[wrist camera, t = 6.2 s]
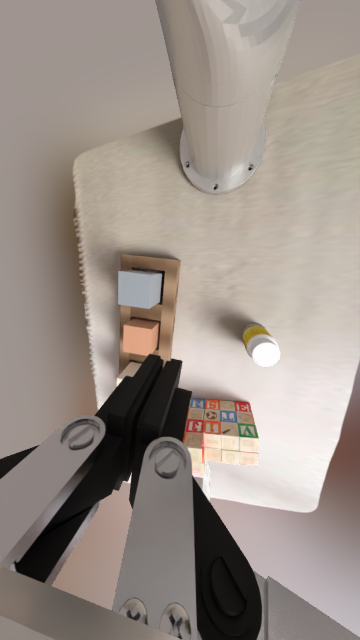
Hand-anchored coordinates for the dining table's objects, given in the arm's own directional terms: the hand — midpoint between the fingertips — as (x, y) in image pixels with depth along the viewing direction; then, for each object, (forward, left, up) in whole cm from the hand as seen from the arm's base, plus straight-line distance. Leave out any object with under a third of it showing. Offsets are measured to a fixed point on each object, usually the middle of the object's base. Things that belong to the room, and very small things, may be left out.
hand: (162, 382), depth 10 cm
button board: (+8, -9, -28) cm, 31 cm away
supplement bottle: (+6, +11, -28) cm, 31 cm away
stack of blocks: (+25, +3, -28) cm, 38 cm away
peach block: (+8, -10, -27) cm, 30 cm away
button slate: (-1, -9, -25) cm, 27 cm away
